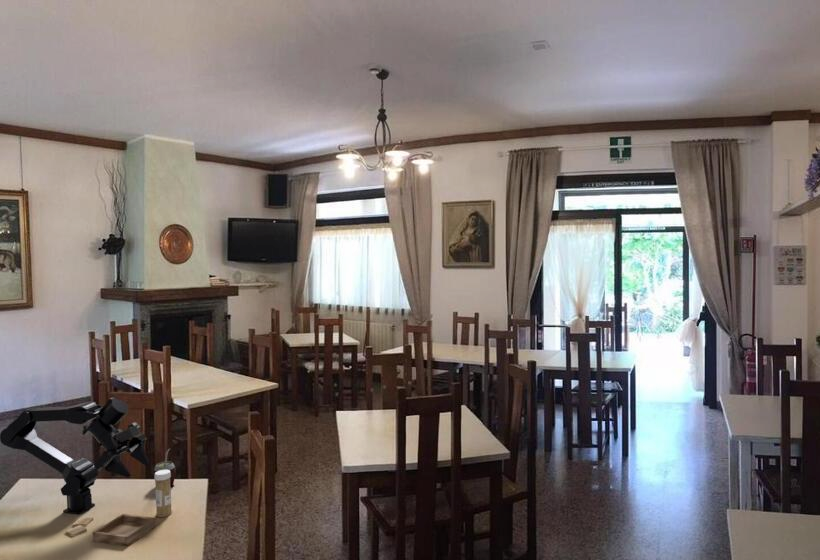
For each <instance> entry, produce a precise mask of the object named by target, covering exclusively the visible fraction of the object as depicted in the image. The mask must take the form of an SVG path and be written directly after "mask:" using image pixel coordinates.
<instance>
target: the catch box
mask: <svg viewBox="0 0 820 560" xmlns="http://www.w3.org/2000/svg"><path fill="white" fill-rule="evenodd" d="M156 526H157V518H156V517H153V516H152V517H151V516H144V515H135V514H127V513H122V514H120V515H119V516H117V517H116V518H114V519H112V520H110V521H109V522H108V523H105V524H104V525H102V526H101V527H100V528H98V529H96V530H94V531H92V542H97V543H105V544H112V545H118V546H125V547H127V546H130V545H131V544H132V543H134V542H136V541H137V540H138V539H141V537H142V536H144V535H145V534H146V533H148V532H150V531H151V530H153V528H155V527H156Z"/></svg>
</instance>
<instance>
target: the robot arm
mask: <svg viewBox="0 0 820 560" xmlns="http://www.w3.org/2000/svg"><path fill="white" fill-rule="evenodd" d="M129 411H130V407H129V405H128V404H127V403H126V402H125V401H123V400H120V399H116V397H110V398H109V399H108V400H107V401H106V402H105V404H104V405H103V404H102V405H100V404H96V402H95V401H91V400H90V401H87V402H82V403H79V404H75V405H71V406H53V407H51V406H49V407H46V406H45V407H37V406H34V407H30V408H28V409H26V410H24V411H22V412H21V413H20V414H19V415H18V417H17V418H15V419H14V420H13V421H12V422H11V423H10V424H8V426H7V427H6V428H4V429H2V430H1V431H0V443H1V444H2V445H3V446H5V447H7V448H10V449H12V450H19V451H25V452H27V453H28V454H29V455H32V456H33V457H35V458H37V459H38V460H39V461H41V462H43V463H44V464H46V465H47V466H49V467H51V468H53V469H54V470H55V471H56V472H59V474H61V476H62V478H63V480H64V483H65V484H63V486H62V487H61V488H60V492H61V495H62V496H66V508H65V509H63V511H62V512H63V513H66V514H67V513H68V514H75V515H80V514H82V513H84V512H86V511H88V510H89V509H91V508H93V507H95V506H96V503H93V502H92V501H93V499H92V493H91V490H92V489H91V488H90V487H92V486H94V485H95V482H96V480H97V479H98V477H99V471H100V470H101V471H102V472H104V471H105V472H109V473H112V474H117V475H119V476H122V477H125V478H127V479H128V478H130V477H132V474H131V472H130V471H129V469H127V468H126V466H125V465H124V463H123V462H122V461H121V455H122V454H123V453H126V452H127V453H129V456H130V457H132V458H133V459H135V460H136V461H138V462H139V463H141V464H142V465H143V466H146V467H148V466H149V465H150V460H149V459H148V456H147V454H146V450H145V444H146V443H147V439H148V437H147V436H146V435H145V434H144V433H140V431H141V426H140V425H139V424H138V423H137V422H136V421H135V422H132V423H130V424H128V426H127V427H128V428H127V429H125V430H122V429H121V428H117V429H116V428H115V427H114V426H115V425H117V424H118V423H119V422H120V421H121V420H122V419H123V418H124V417H125V416H126V415H127V414H128V412H129ZM97 417H98V418H97ZM58 421H64V422H68V423H70V424H74V425H83V426H82V427H83V428H82V435H83V436H85V435H88V434H89V433H90V435H92V436H93V437H94V439H96V441H97V442H98V445H97V447H98V448H99V449H100V448H104V450H105V451H104V452H102V453H101V454H100V455H99V456H98V457H97V459H95V461H93V462H91V461H89V460H88V459H87V458H86V457H82V458H80V459H79V460H75V459H73V458H71V457H70V456H68V455H66V454H65V453H63V452H61V451H60V450H59V449H57V448H55V447H54V446H52V445H51V444H49V443H48V442H46V441H44V440H43V439H41V438H40V437H38V435H37V434H38V433H37V431H36V429H35V427H36V426H37V425H38V422H58ZM88 422H90V423H88ZM85 423H87V424H85ZM84 424H85V425H84Z"/></svg>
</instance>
